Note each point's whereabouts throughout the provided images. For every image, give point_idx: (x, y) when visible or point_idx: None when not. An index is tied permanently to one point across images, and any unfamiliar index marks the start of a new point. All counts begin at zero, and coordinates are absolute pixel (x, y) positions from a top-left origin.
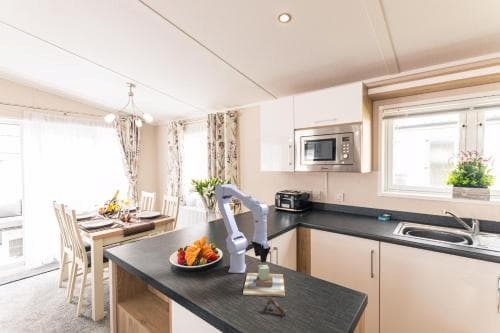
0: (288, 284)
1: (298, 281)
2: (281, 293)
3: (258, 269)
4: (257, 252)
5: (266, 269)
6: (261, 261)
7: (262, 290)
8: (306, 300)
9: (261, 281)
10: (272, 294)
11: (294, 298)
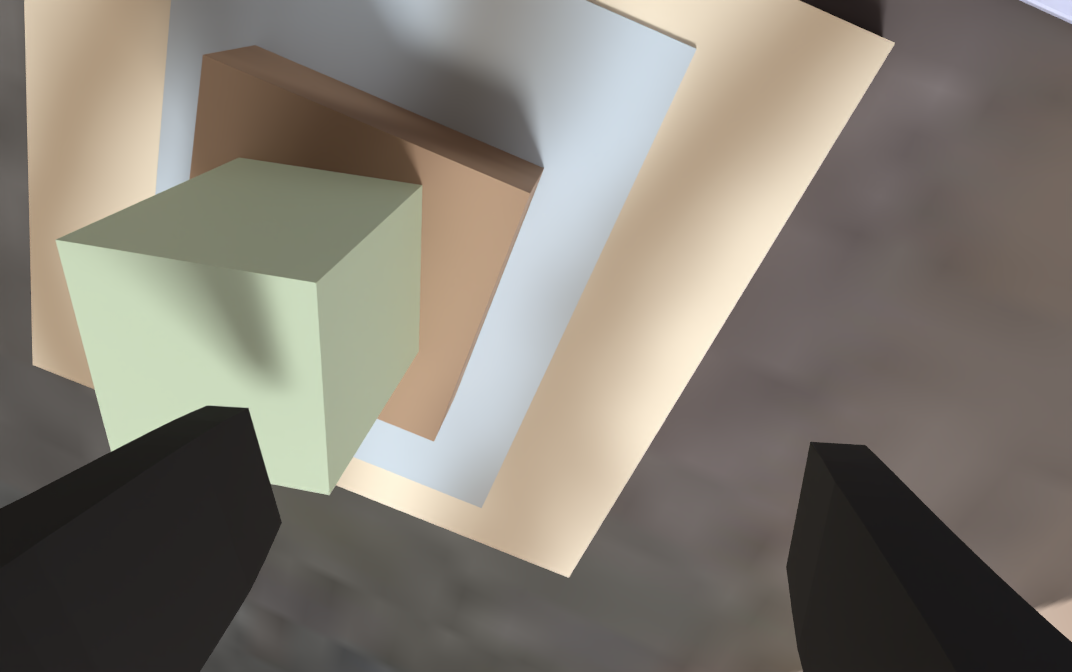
0: (338, 511)
1: (390, 625)
2: (56, 338)
3: (355, 237)
4: (841, 615)
5: (113, 382)
6: (180, 421)
7: (125, 113)
8: (8, 501)
9: (204, 167)
10: (31, 219)
11: (31, 424)
